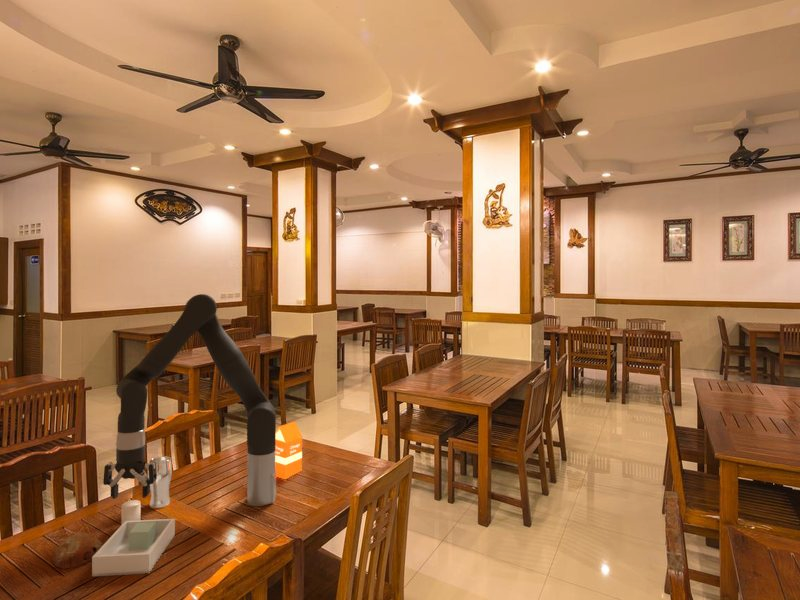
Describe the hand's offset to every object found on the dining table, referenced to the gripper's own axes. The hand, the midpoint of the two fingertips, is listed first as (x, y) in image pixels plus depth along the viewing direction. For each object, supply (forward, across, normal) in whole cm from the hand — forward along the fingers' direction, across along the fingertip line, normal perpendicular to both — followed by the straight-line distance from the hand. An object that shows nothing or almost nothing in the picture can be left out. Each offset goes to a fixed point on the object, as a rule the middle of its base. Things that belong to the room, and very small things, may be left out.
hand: (130, 497), depth 138 cm
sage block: (+8, -9, +12) cm, 17 cm away
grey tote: (+9, -9, +15) cm, 20 cm away
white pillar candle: (+9, 0, 0) cm, 9 cm away
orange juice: (+9, -42, -35) cm, 56 cm away
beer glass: (+9, -3, -14) cm, 17 cm away
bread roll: (+10, +6, +15) cm, 19 cm away
